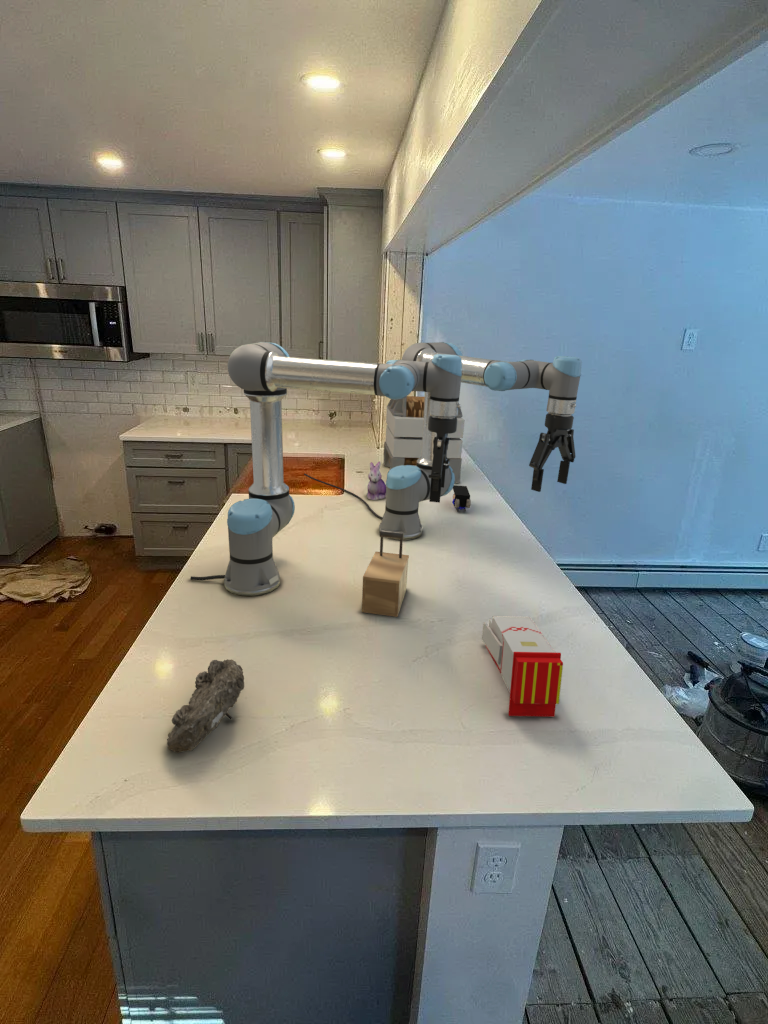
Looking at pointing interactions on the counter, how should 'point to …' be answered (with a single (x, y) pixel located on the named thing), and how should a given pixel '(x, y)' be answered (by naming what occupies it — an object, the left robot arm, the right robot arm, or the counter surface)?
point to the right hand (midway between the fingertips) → (549, 486)
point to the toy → (525, 665)
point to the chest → (384, 596)
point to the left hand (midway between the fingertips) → (437, 494)
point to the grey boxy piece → (415, 435)
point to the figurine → (376, 483)
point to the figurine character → (461, 497)
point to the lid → (387, 561)
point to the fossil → (206, 705)
